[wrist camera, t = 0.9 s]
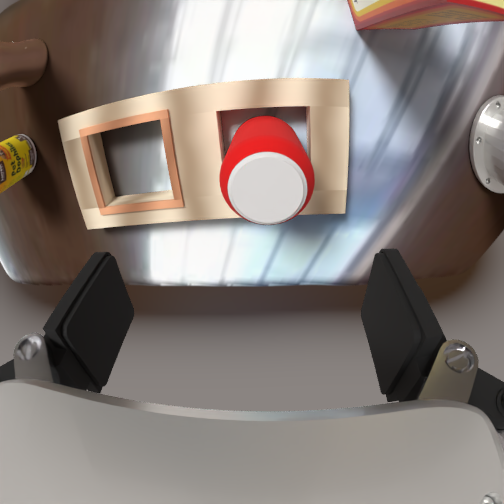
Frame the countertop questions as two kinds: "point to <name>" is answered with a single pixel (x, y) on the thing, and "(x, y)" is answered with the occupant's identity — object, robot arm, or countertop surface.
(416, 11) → the baking soda box
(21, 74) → the beer glass
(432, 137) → the countertop surface
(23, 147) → the supplement bottle
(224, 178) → the beverage can
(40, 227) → the countertop surface
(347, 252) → the countertop surface
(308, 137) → the square hole board
